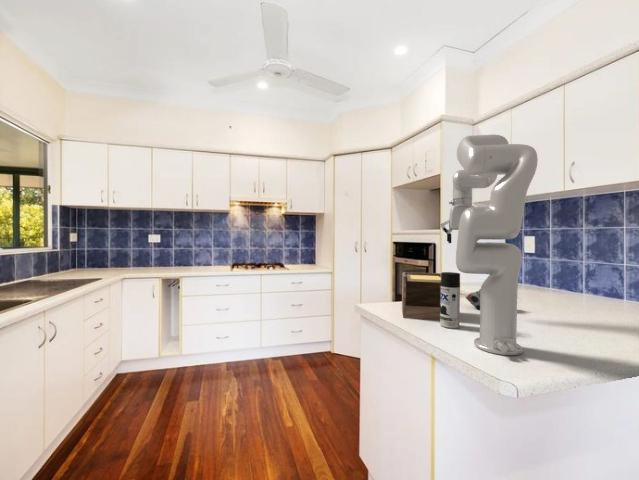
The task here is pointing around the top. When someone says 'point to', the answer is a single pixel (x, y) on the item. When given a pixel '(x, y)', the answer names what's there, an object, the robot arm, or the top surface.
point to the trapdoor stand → (421, 298)
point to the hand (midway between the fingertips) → (461, 243)
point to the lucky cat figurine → (474, 298)
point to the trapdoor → (423, 278)
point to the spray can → (450, 300)
